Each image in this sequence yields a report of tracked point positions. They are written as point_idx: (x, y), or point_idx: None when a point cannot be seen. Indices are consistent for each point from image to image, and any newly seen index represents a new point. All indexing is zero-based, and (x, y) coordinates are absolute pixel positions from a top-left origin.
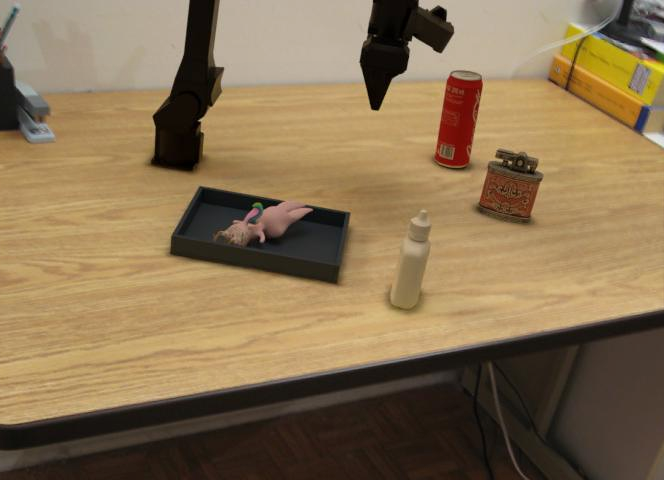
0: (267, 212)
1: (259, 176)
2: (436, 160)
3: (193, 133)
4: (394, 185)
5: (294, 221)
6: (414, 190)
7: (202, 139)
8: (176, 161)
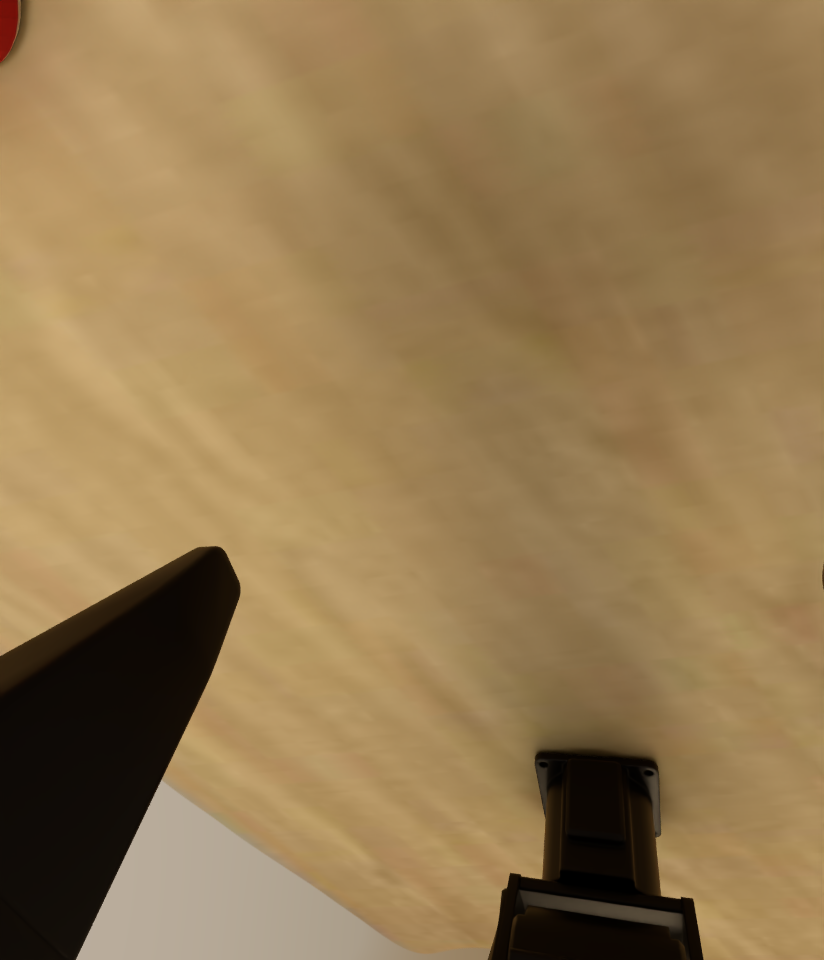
0: None
1: (587, 621)
2: (10, 49)
3: (633, 868)
4: (378, 174)
5: None
6: (370, 59)
7: (588, 819)
8: (651, 806)
